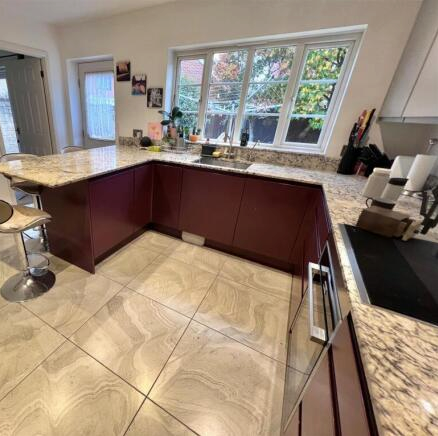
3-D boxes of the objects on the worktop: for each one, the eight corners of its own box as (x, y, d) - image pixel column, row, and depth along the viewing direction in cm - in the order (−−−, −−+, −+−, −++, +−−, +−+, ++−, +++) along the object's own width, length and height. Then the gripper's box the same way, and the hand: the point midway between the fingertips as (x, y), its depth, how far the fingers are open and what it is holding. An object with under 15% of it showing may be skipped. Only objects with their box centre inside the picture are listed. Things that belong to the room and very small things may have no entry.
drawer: (418, 237, 98) (427, 222, 95) (409, 242, 94) (418, 227, 91) (380, 224, 108) (387, 211, 105) (370, 229, 104) (377, 215, 101)
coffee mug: (390, 223, 112) (400, 204, 108) (368, 220, 115) (378, 201, 110) (378, 214, 122) (387, 197, 118) (358, 212, 125) (366, 194, 120)
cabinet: (400, 232, 103) (410, 215, 100) (390, 238, 98) (400, 220, 95) (366, 221, 113) (374, 205, 110) (355, 226, 108) (362, 209, 104)
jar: (382, 200, 145) (396, 171, 137) (362, 197, 150) (374, 169, 142) (378, 196, 152) (391, 169, 145) (359, 193, 157) (371, 166, 150)
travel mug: (392, 218, 119) (412, 180, 110) (376, 216, 121) (395, 178, 112) (385, 213, 124) (404, 177, 116) (370, 211, 126) (388, 175, 118)
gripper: (429, 174, 89) (398, 228, 99) (484, 183, 79) (443, 243, 89) (435, 172, 92) (405, 225, 102) (488, 181, 82) (449, 238, 92)
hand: (423, 233), depth 96 cm, fingers closed
